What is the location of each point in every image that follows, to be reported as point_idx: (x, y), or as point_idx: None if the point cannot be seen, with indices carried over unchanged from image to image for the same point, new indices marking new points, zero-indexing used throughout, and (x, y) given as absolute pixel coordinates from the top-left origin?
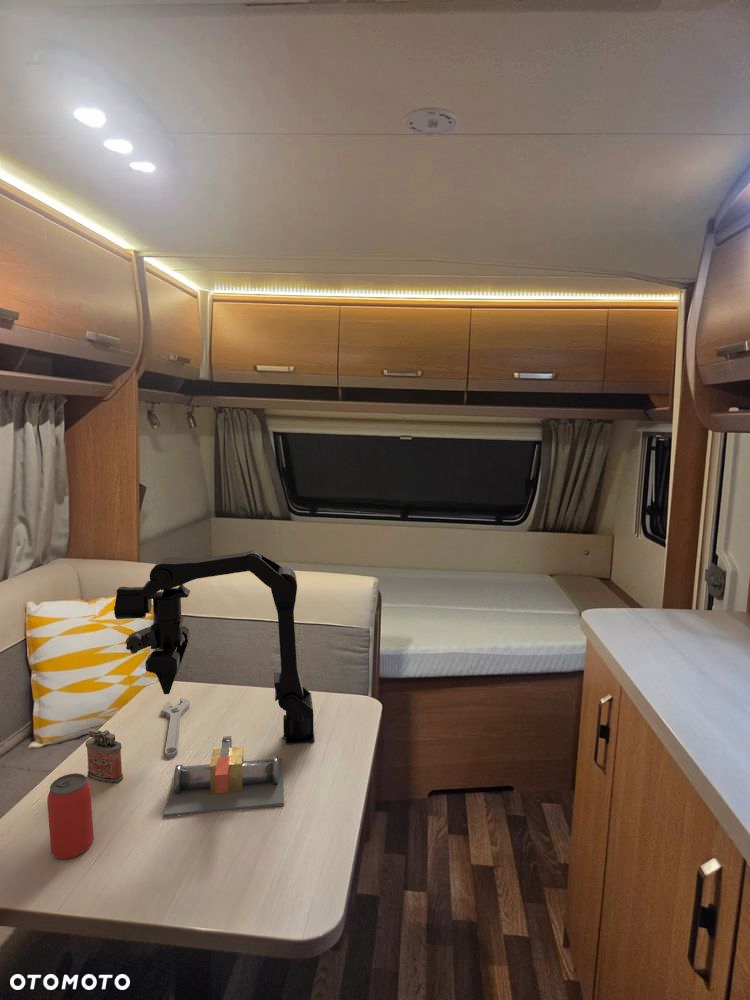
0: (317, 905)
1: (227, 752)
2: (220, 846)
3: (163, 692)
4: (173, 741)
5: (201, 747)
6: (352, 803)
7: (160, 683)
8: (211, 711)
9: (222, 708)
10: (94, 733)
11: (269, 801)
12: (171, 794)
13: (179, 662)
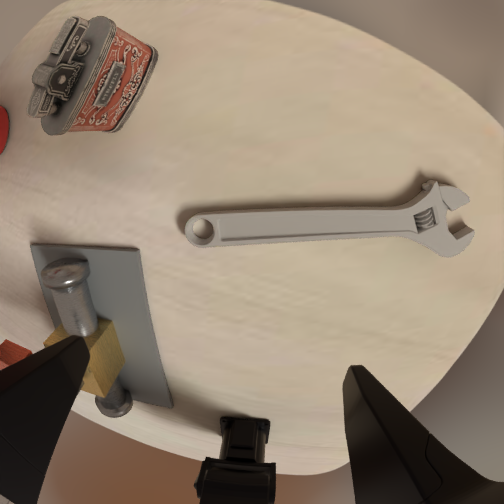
0: None
1: None
2: (19, 311)
3: (65, 339)
4: (253, 230)
5: (228, 296)
6: (104, 424)
7: (10, 367)
8: (401, 305)
9: (404, 327)
10: (56, 41)
11: None
12: (62, 251)
13: (356, 472)
